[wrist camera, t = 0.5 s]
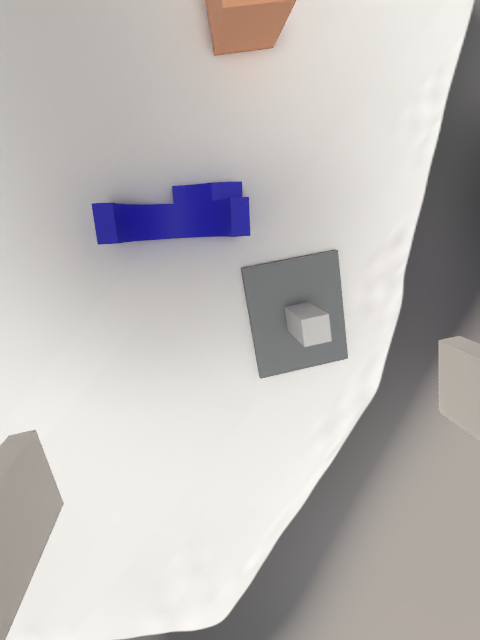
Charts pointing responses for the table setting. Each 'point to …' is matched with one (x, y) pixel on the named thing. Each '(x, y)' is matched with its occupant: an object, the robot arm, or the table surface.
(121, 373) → the table surface
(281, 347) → the stand
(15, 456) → the robot arm
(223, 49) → the peach clay cube
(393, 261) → the table surface
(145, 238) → the blue arch bracket
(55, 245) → the table surface
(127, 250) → the table surface
